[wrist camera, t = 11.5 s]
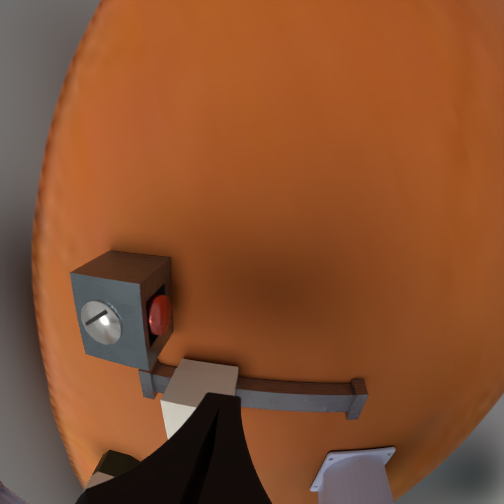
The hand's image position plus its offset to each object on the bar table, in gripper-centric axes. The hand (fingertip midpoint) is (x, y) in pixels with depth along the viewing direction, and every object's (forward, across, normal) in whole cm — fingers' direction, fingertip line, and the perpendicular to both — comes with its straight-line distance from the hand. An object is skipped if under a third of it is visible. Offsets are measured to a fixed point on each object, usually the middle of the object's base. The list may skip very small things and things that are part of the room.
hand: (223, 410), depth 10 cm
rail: (+10, -1, +8) cm, 12 cm away
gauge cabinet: (+10, +8, 0) cm, 13 cm away
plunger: (+8, +7, 0) cm, 11 cm away
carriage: (+10, +2, +8) cm, 13 cm away
